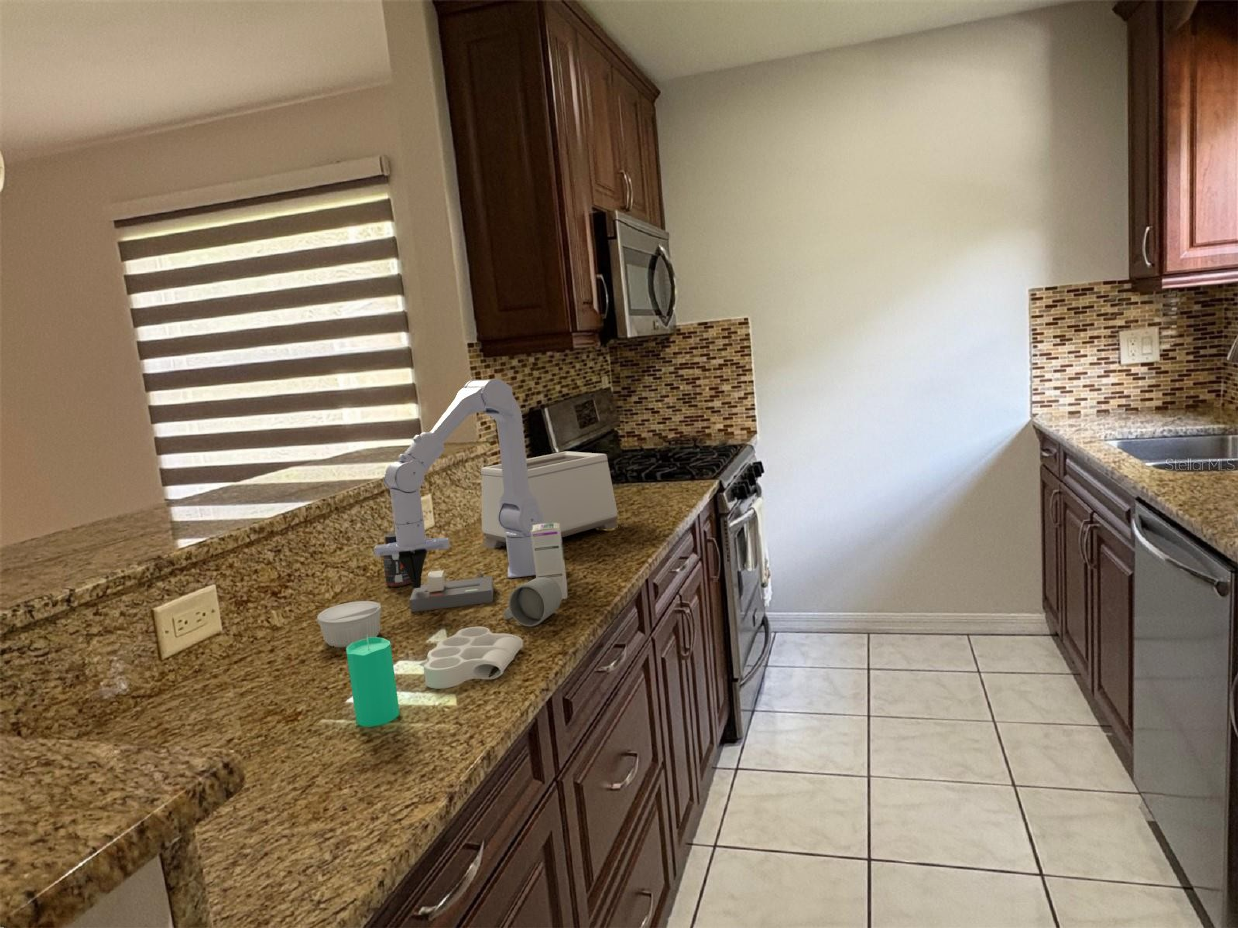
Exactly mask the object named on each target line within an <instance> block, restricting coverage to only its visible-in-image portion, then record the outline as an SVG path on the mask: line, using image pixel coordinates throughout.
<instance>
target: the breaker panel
mask: <svg viewBox="0 0 1238 928" xmlns="http://www.w3.org/2000/svg"><path fill="white" fill-rule="evenodd" d="M494 586H495V585H494V578H493V576H484V573H478V574H477V577H475V578H467V579H458V580H457V579H456V580H451V581H450V580H449V581H445V587H444V590H442V591H434V592H428V586H427V583H423V584H421V587H420V588H413V589H412V593H411V595H410V598H409V607H410V613H415V612H423V611H432V610H438V609H439V610H441V609H448V608H455V607H465V606H472V605H480V604H481V605H482V604H489V603H490V604H491V603H493V601H494V590H495V589H494V588H495V587H494Z"/></svg>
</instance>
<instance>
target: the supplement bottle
mask: <svg viewBox="0 0 1238 928" xmlns="http://www.w3.org/2000/svg"><path fill="white" fill-rule="evenodd" d="M384 541H385V543H384V544H390V543H395V542H397V540H396V533H395V532H392V533H388V534H385V535H384ZM398 558H399V554H392V555H383V556H382V560H383V569H384V577H385V583H386V586H388V587H394V588H396V587H398V588H399V587H404V586H408V585H410V584H412V582H411V580H410V577H409V575H408V573H407V571H406V570H405V568H404V567H403V565H402V564H401V563H400V561H399V559H398Z"/></svg>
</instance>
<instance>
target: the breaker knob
mask: <svg viewBox="0 0 1238 928" xmlns="http://www.w3.org/2000/svg"><path fill="white" fill-rule="evenodd" d="M445 582H446V577H445V570H444V569H443V570H433V571H429V572H428V574H427V577H426V584H427V586H428V592H434V591H442V590H444V587H445Z"/></svg>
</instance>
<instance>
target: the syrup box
mask: <svg viewBox="0 0 1238 928" xmlns="http://www.w3.org/2000/svg"><path fill="white" fill-rule="evenodd" d="M531 539H532V547H533V556H534V565H535V573H536V575H535V578H540V577H547V578H550V579H552V580H554V581H555V582H556V583H557V584H558V586H559V587H560V589H561V593H562V600H567V599H568V582H567V574H566V565H565V563H566V562H565V556H564V547H563V537H561V530H560V523H559V522H553V523H542V524H537V525H532V529H531Z"/></svg>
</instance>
